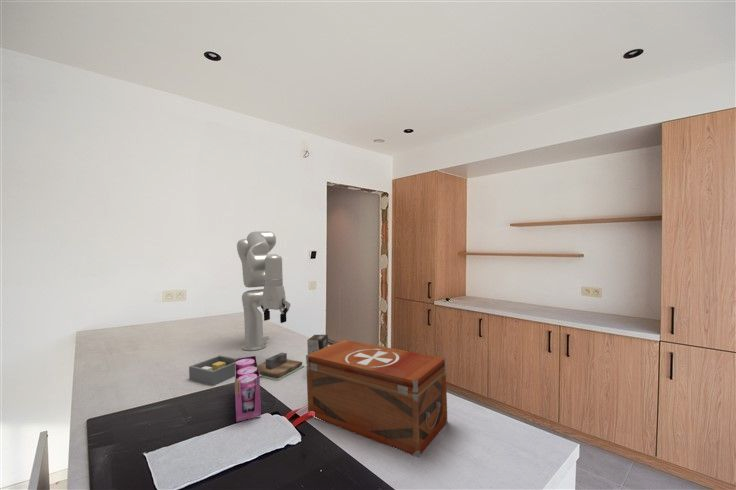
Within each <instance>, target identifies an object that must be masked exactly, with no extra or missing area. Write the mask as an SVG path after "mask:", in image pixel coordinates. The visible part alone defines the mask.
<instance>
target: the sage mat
mask: <svg viewBox="0 0 736 490" xmlns="http://www.w3.org/2000/svg"><path fill="white" fill-rule="evenodd" d="M304 367H305V365H304V364H302V365H300V366H298V367H297V368H295V369H293V370H291V371H289V372H287V373H285V374H283V375H281V376H279V377H273V376H269V375H264V374H261V375H260V378H263V379H267V380H273V381H277V382H279V381H281V380H283V379H285V378H286V377H288V376H290V375H291V374H294V373H296V372H298V371H299V370H302V369H303V368H304Z"/></svg>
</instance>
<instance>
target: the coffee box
mask: <svg viewBox="0 0 736 490" xmlns="http://www.w3.org/2000/svg"><path fill="white" fill-rule="evenodd" d="M328 337H329V336H328V334H313V335H312V336H311V337H310V338H308V339H307V340H306V341H307V355H308V354H311V353H313V352H316V351H318V350H320V349H323V348H325V347H328V346H329V341H328V340H329V338H328Z"/></svg>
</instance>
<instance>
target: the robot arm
mask: <svg viewBox="0 0 736 490" xmlns="http://www.w3.org/2000/svg"><path fill="white" fill-rule="evenodd" d="M276 237H277V236H276V234H275V233H274V232H273V231H270V230H269V231H264V230H263V231H262V230H261V231H256V230H255V231H251V232H249V234H247V236H246V238H242V239H240V240H238V241H237V243H236V250H237V254H238V258H239V259H240V262H241V267H242V269H241V271H242V280H243V285H244V286H245V288H260V289H251V290H246V291H244V292H243V293H242V294H241V303H242V308H243V317H244V318H243V319H244V321H243V322H244V344H243V345H242V347H241V348H242V350H244V351H249V352H251V351H258V350H261V349H264V348H266V347H267V343H266V341H268V340H270V336H264V327H263V326H264V325H263V322H266V321H269V320H271V311H270V310H274V311H276V310H277V311H278V310H279V312H280V314H279V317H280V323H281V324H283V323H286V322H287V314H288V312H289V310H290V308H291V303H290V302H289V301H288V300H287V299H286V292H285V287H284V284H283V283H284V281H283V280H284V279H283V278H284V277H283V275H284V274H283V257H282V256H281V255H279V254H277V253H275V254H274V253H272V254H269V253H271V251H272V250H273V249H274V247H276V244H277V243H276V242H277V238H276ZM261 287H262V288H261ZM258 308H261V309H262V311H260V310H259V309H258ZM262 312H263V313H262Z"/></svg>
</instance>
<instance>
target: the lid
mask: <svg viewBox="0 0 736 490" xmlns="http://www.w3.org/2000/svg"><path fill="white" fill-rule="evenodd" d="M287 356H288V355H287V353H286V352H279V353H277V354H275V355H272V356H271V357H268V358H266V359H265V361H264V362H262V363H259V364H257V366H258V370H259V375H269V376H273V377H279V376H281V375H283V374H285V373H287V372H289V371H291V370H293V369H295V368H297V367H298V366H300V365H303V361H300V360H299V361H298V360H294V359H288V357H287Z"/></svg>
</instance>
